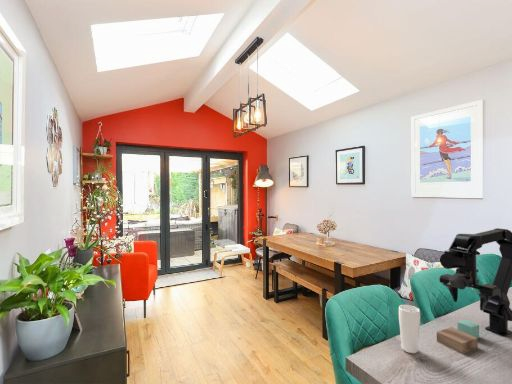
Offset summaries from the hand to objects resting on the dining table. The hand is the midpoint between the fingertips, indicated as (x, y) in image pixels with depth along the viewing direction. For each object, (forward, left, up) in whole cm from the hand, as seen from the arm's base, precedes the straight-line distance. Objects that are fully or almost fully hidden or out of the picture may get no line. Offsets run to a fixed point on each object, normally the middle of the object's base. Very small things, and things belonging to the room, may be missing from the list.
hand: (468, 306), depth 108 cm
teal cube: (0, 0, -12) cm, 12 cm away
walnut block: (+11, +2, -12) cm, 16 cm away
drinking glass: (+30, -3, -12) cm, 32 cm away
